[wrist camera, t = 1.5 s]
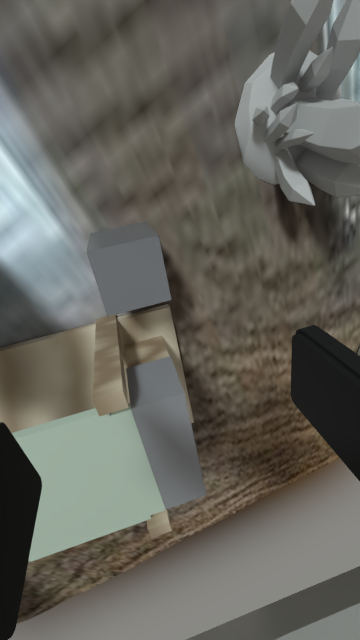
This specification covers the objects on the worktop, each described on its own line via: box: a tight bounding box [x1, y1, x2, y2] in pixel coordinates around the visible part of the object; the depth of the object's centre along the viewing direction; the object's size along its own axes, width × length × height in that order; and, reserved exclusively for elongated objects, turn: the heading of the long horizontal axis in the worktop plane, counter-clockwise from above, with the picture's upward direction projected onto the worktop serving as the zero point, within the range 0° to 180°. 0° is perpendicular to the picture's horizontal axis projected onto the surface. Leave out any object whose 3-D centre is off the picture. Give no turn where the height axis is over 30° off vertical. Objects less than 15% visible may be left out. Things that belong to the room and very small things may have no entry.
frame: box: [0, 304, 194, 538], centre depth 28 cm, size 23×18×12 cm
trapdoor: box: [12, 356, 206, 562], centre depth 25 cm, size 16×14×5 cm
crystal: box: [235, 0, 360, 206], centre depth 19 cm, size 10×13×15 cm
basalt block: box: [87, 222, 171, 316], centre depth 24 cm, size 5×5×7 cm
